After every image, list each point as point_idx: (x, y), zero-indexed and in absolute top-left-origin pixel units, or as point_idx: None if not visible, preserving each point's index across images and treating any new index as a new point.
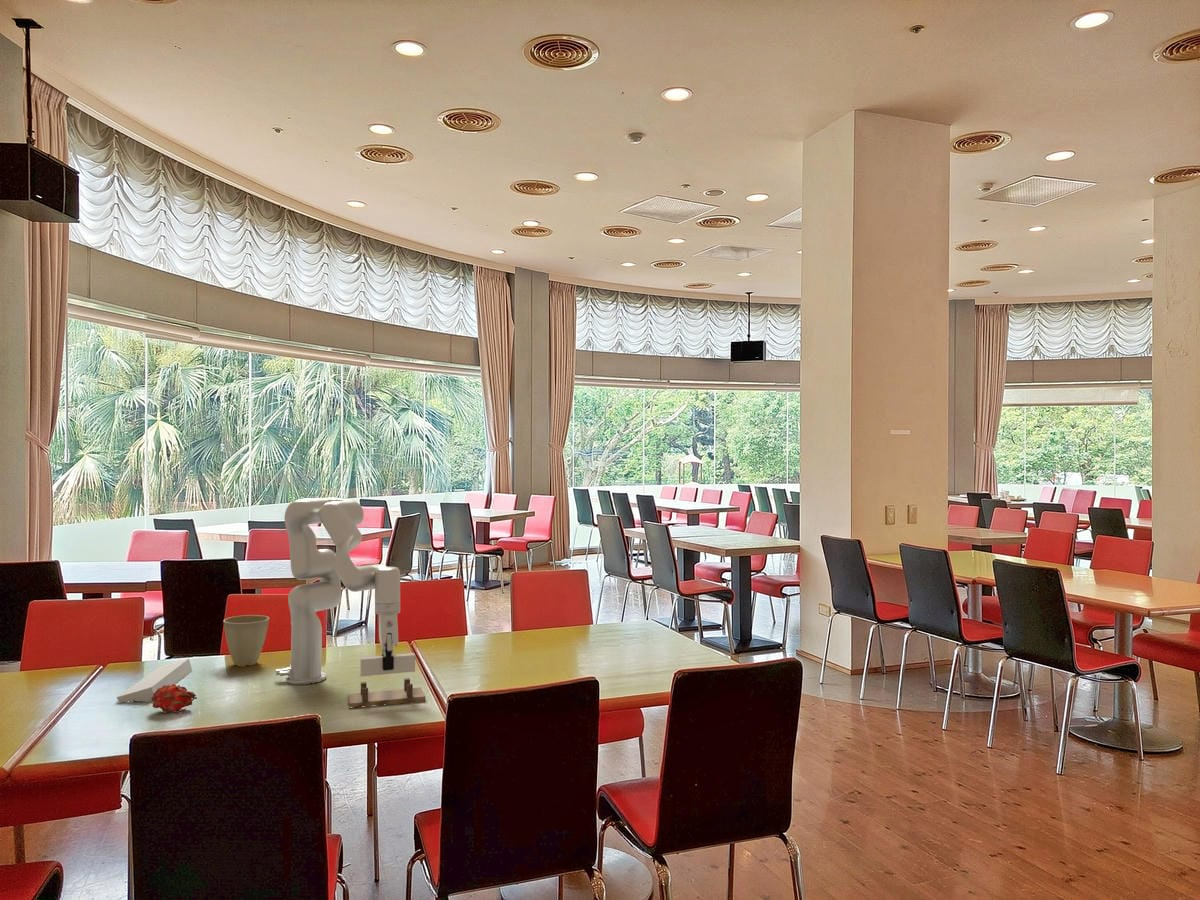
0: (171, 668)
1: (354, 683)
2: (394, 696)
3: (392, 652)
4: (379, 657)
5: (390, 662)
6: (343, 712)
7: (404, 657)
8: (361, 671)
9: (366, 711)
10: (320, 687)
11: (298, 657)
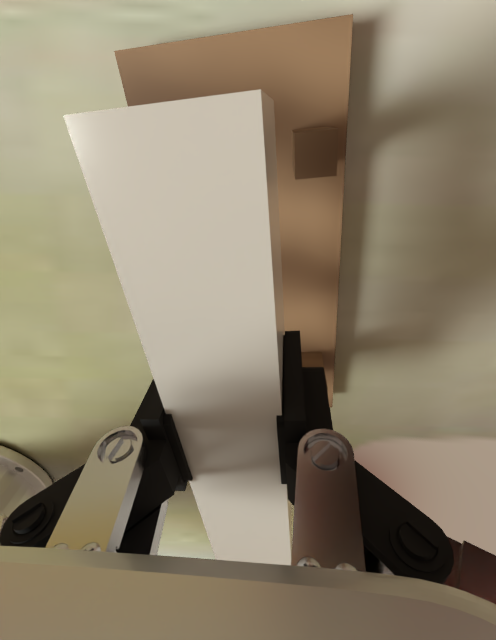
0: None
1: (11, 371)
2: (287, 239)
3: (354, 492)
4: (260, 499)
5: (328, 401)
6: (365, 408)
7: (275, 282)
8: None
9: (391, 344)
10: (72, 449)
11: None
